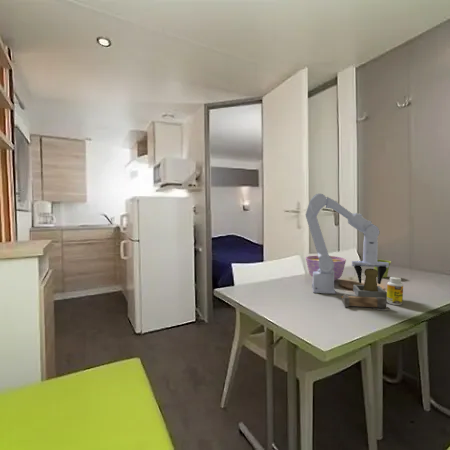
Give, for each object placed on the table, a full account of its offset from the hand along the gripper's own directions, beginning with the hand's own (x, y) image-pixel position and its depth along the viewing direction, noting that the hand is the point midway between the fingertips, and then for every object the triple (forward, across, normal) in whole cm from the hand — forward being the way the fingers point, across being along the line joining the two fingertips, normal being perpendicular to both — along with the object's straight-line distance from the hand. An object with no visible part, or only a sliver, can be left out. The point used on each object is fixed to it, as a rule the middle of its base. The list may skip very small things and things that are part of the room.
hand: (369, 283), depth 135 cm
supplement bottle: (+5, +7, -11) cm, 14 cm away
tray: (+5, 0, 0) cm, 5 cm away
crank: (+5, -6, -18) cm, 20 cm away
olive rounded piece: (+5, 0, -1) cm, 5 cm away
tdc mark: (+5, -11, -7) cm, 14 cm away
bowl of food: (+5, -16, +24) cm, 29 cm away
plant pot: (+5, +15, +40) cm, 43 cm away
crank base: (+5, 0, -18) cm, 19 cm away
